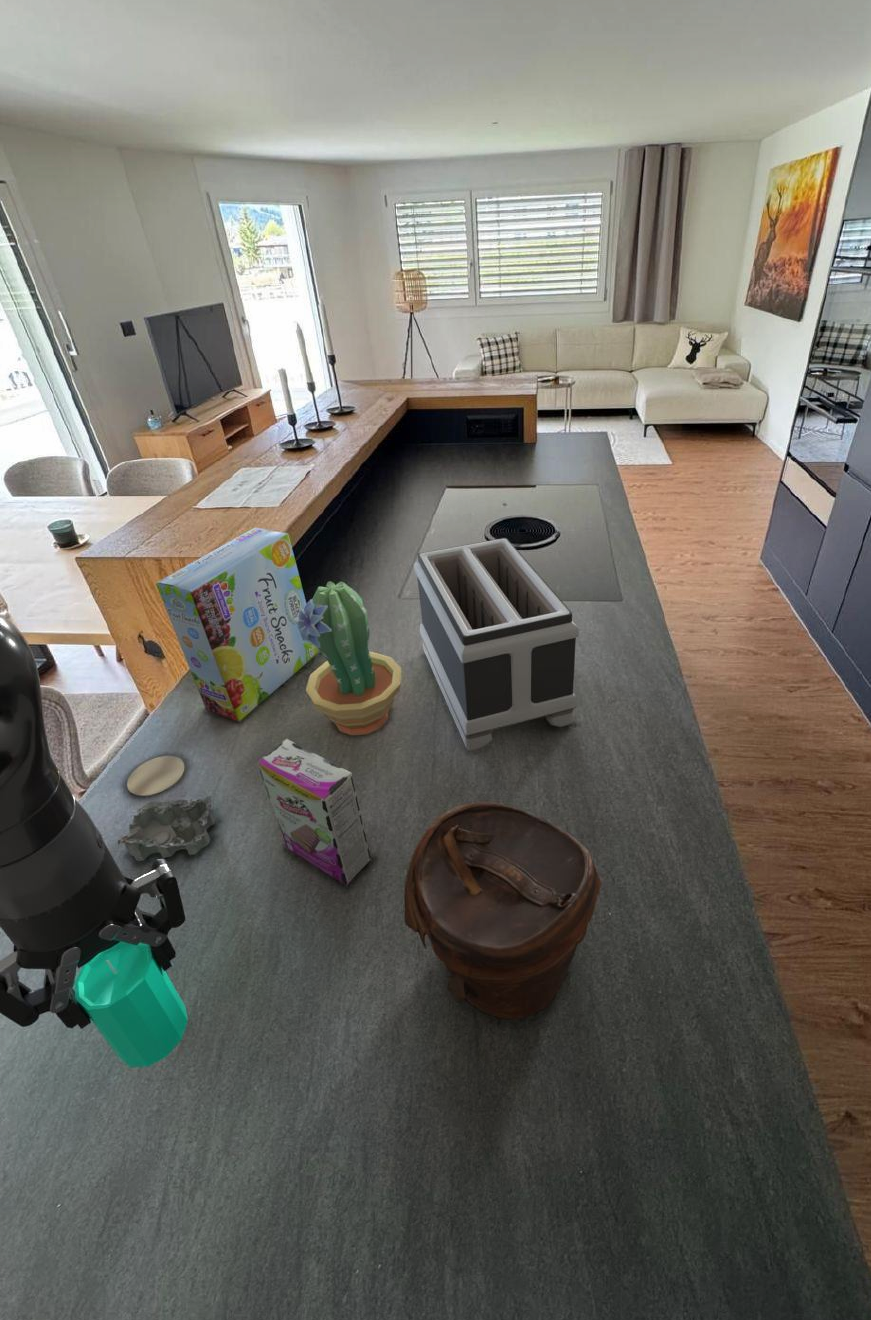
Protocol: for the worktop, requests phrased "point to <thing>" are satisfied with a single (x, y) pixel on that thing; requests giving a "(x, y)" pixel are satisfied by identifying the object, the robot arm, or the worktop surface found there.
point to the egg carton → (169, 828)
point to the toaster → (495, 639)
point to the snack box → (239, 620)
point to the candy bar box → (316, 810)
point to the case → (501, 904)
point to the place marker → (155, 776)
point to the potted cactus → (347, 662)
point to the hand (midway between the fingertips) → (125, 988)
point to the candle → (132, 1003)
